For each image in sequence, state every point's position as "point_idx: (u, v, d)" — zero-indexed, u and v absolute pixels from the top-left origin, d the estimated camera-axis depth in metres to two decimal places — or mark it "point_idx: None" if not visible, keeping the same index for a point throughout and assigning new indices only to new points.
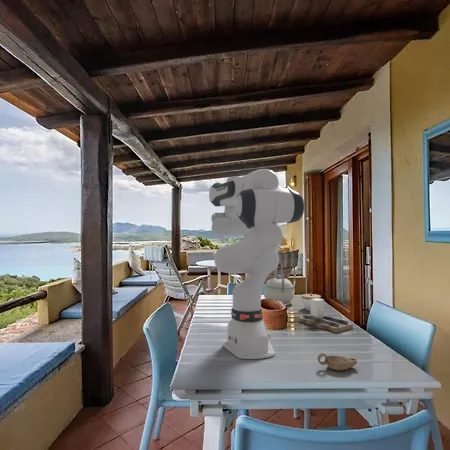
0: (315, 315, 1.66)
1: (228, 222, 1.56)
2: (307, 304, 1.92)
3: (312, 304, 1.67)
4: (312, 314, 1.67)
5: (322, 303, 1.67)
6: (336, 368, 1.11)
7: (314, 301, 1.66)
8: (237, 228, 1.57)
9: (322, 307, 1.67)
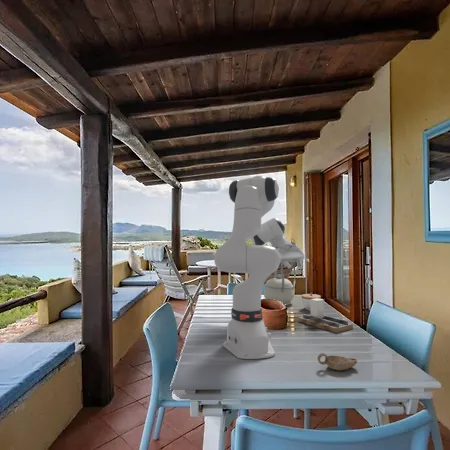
0: (315, 315, 1.66)
1: (284, 251, 1.83)
2: (307, 304, 1.92)
3: (312, 304, 1.67)
4: (312, 314, 1.67)
5: (322, 303, 1.67)
6: (336, 368, 1.11)
7: (314, 301, 1.66)
8: (292, 254, 1.83)
9: (322, 307, 1.67)
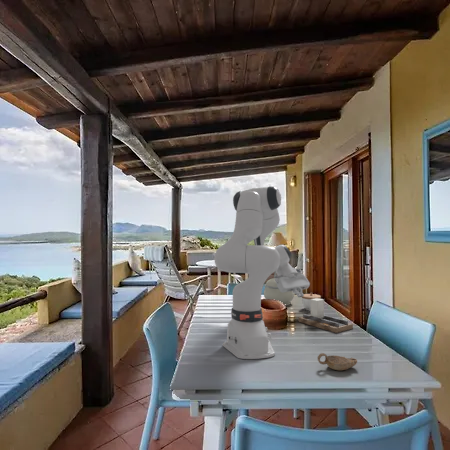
0: (315, 315, 1.66)
1: (289, 280, 1.79)
2: (307, 304, 1.92)
3: (312, 304, 1.67)
4: (312, 314, 1.67)
5: (322, 303, 1.67)
6: (336, 368, 1.11)
7: (314, 301, 1.66)
8: (297, 283, 1.80)
9: (322, 307, 1.67)
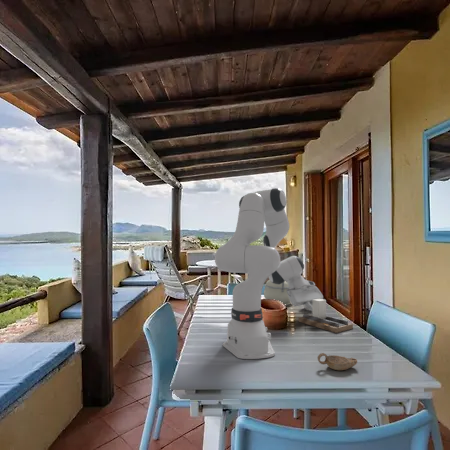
0: (317, 316, 1.65)
1: (301, 293, 1.72)
2: None
3: (314, 304, 1.66)
4: (314, 315, 1.66)
5: (324, 303, 1.66)
6: (336, 368, 1.11)
7: (316, 301, 1.65)
8: (310, 296, 1.73)
9: (324, 307, 1.66)
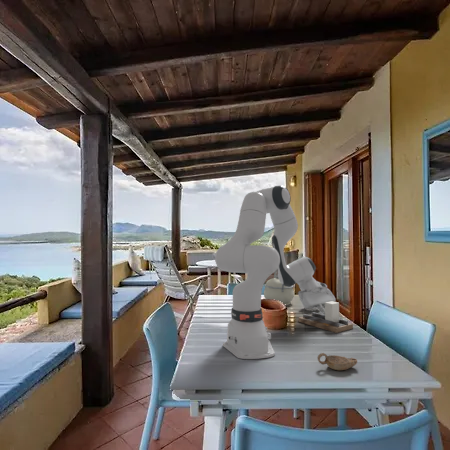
0: (330, 319, 1.59)
1: (313, 295, 1.66)
2: None
3: (327, 307, 1.60)
4: (327, 318, 1.60)
5: (337, 306, 1.60)
6: (336, 368, 1.11)
7: (329, 304, 1.59)
8: (322, 298, 1.67)
9: (337, 311, 1.60)
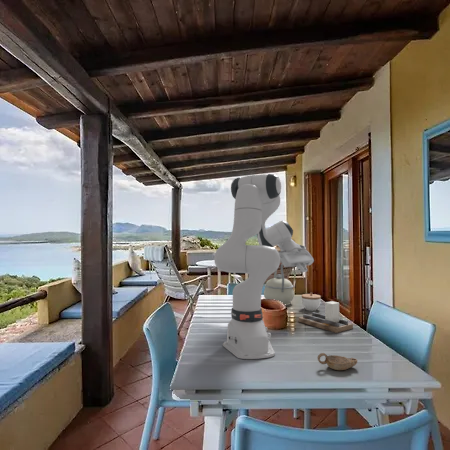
0: (330, 319, 1.59)
1: (292, 255, 1.78)
2: (307, 304, 1.92)
3: (327, 307, 1.60)
4: (327, 318, 1.60)
5: (337, 306, 1.60)
6: (336, 368, 1.11)
7: (329, 304, 1.59)
8: (301, 258, 1.78)
9: (337, 311, 1.60)
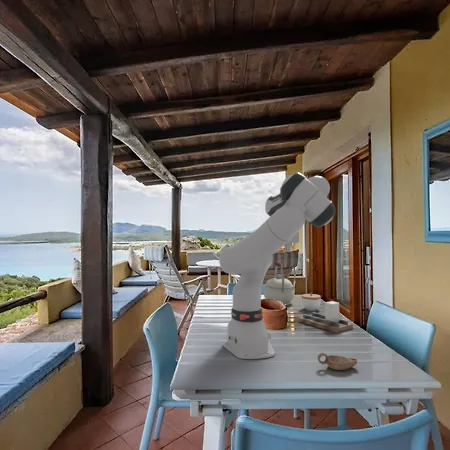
0: (330, 319, 1.59)
1: None
2: (307, 304, 1.92)
3: (327, 307, 1.60)
4: (327, 318, 1.60)
5: (337, 306, 1.60)
6: (336, 368, 1.11)
7: (329, 304, 1.59)
8: None
9: (337, 311, 1.60)
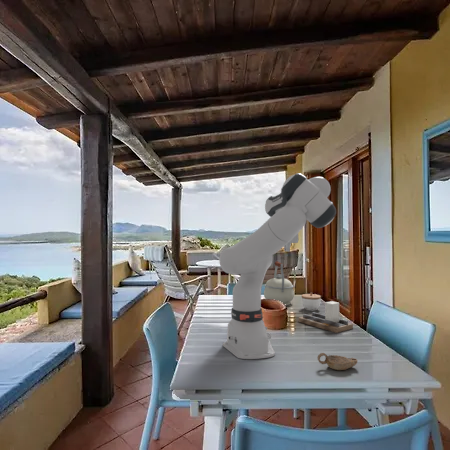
0: (330, 319, 1.59)
1: None
2: (307, 304, 1.92)
3: (327, 307, 1.60)
4: (327, 318, 1.60)
5: (337, 306, 1.60)
6: (336, 368, 1.11)
7: (329, 304, 1.59)
8: None
9: (337, 311, 1.60)
